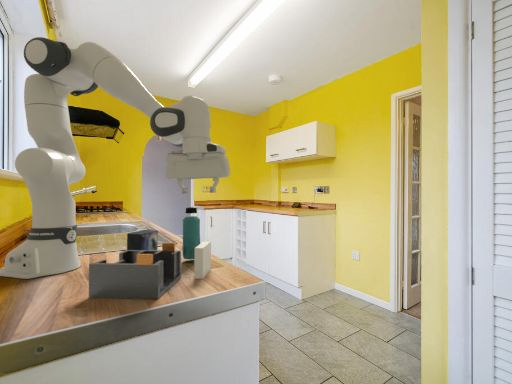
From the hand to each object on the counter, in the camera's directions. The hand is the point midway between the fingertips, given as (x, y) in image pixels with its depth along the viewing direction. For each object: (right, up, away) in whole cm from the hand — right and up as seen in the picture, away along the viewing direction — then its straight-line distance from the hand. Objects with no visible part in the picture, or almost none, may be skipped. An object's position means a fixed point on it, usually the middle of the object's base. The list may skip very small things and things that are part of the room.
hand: (198, 193), depth 77 cm
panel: (+2, -25, 0) cm, 25 cm away
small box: (-26, -26, +17) cm, 40 cm away
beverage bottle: (-6, -26, +13) cm, 29 cm away
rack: (-13, -25, -11) cm, 31 cm away
